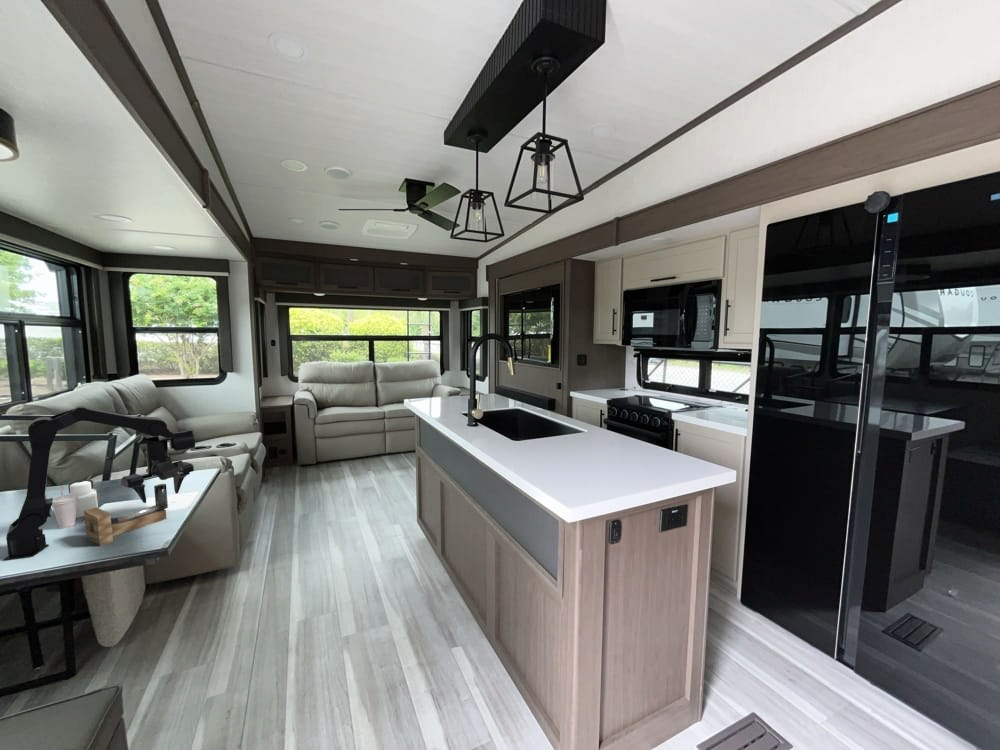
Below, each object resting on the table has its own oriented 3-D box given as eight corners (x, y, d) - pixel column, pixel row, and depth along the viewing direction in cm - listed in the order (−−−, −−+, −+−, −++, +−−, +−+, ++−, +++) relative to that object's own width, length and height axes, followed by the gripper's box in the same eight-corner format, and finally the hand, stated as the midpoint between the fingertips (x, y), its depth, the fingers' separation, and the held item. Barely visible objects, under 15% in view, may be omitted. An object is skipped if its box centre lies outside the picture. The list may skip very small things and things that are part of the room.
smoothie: (47, 531, 131) (42, 490, 129) (62, 522, 137) (58, 483, 135) (71, 529, 132) (67, 488, 131) (85, 520, 139) (81, 481, 137)
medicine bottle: (70, 513, 144) (66, 481, 143) (98, 507, 149) (94, 476, 148) (68, 520, 139) (65, 486, 138) (97, 513, 144) (94, 481, 143)
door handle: (121, 523, 129) (119, 498, 128) (117, 521, 130) (114, 496, 129) (169, 508, 140) (167, 484, 140) (165, 506, 142) (163, 483, 141)
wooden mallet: (100, 545, 122) (97, 517, 121) (86, 538, 127) (83, 510, 126) (172, 521, 138) (169, 495, 137) (157, 515, 143) (155, 490, 142)
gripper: (134, 465, 126) (138, 513, 127) (200, 450, 142) (203, 492, 144) (118, 460, 131) (122, 506, 133) (184, 446, 147) (187, 487, 149)
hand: (161, 497), depth 139 cm, fingers open, 9 cm apart
